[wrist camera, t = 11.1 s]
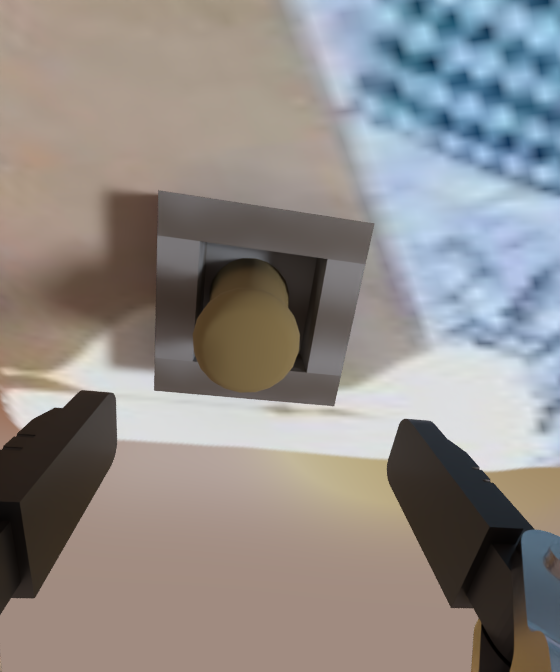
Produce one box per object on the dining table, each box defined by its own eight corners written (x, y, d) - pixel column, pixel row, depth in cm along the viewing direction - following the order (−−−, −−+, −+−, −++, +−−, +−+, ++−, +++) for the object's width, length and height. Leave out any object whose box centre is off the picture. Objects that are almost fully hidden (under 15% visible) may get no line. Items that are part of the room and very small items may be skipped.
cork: (302, 315, 26) (334, 379, 15) (233, 348, 26) (219, 432, 16) (267, 243, 24) (277, 260, 13) (193, 280, 24) (148, 326, 14)
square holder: (174, 195, 23) (158, 190, 19) (355, 223, 24) (374, 223, 20) (168, 366, 27) (154, 390, 23) (323, 381, 28) (333, 406, 25)
